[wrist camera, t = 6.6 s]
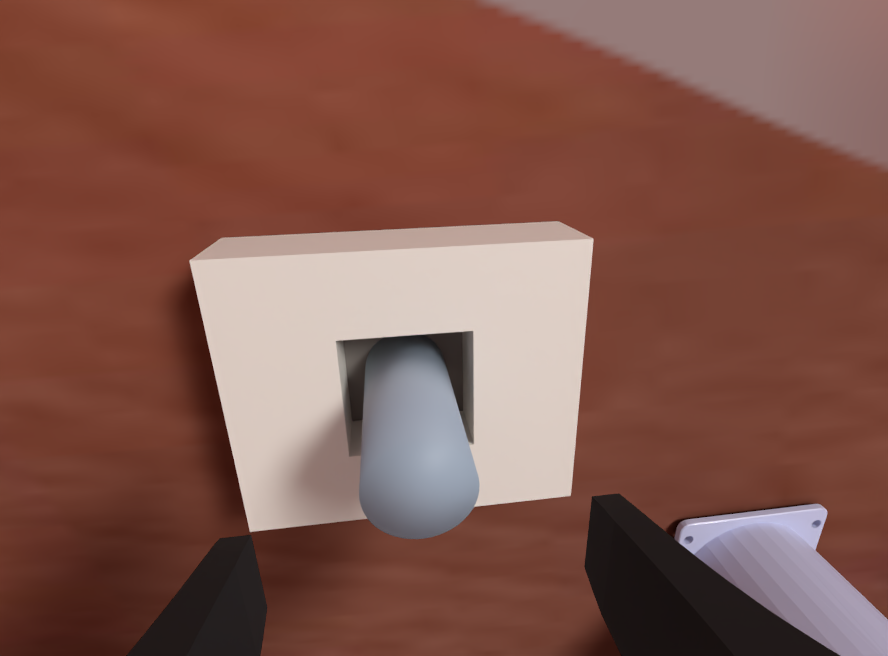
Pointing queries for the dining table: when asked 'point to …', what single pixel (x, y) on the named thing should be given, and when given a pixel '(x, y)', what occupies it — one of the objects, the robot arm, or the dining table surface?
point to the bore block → (388, 315)
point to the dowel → (413, 442)
